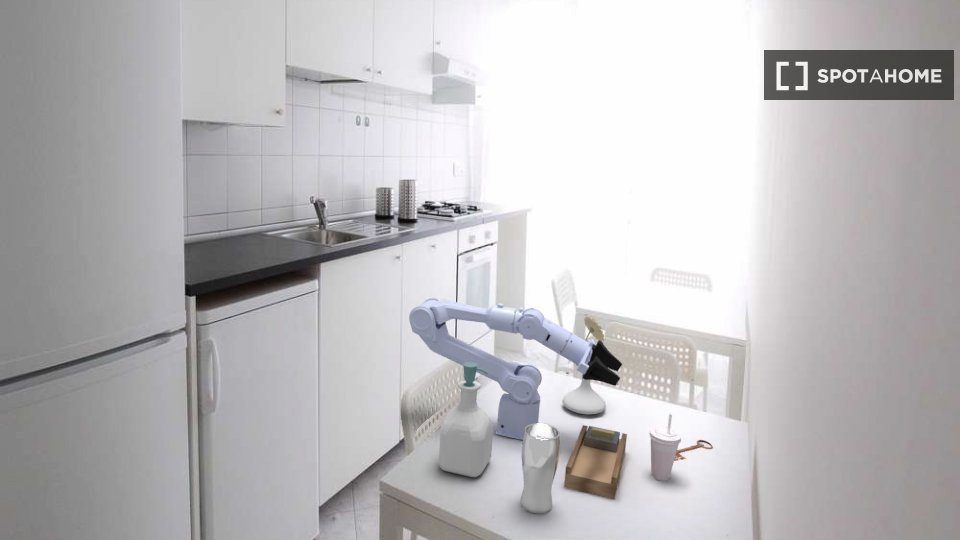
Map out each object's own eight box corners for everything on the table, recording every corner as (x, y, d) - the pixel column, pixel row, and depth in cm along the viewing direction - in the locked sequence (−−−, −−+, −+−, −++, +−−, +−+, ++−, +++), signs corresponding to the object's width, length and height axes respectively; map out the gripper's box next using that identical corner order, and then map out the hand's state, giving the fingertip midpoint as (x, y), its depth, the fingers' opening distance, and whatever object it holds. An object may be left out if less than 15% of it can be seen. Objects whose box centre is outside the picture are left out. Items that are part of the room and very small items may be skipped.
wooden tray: (564, 486, 114) (565, 466, 114) (581, 443, 133) (582, 425, 132) (614, 499, 111) (616, 478, 110) (625, 452, 130) (627, 434, 129)
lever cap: (583, 445, 125) (585, 432, 125) (588, 433, 131) (589, 421, 130) (616, 452, 123) (617, 439, 123) (619, 440, 129) (620, 428, 128)
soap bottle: (479, 482, 114) (485, 375, 110) (435, 472, 117) (439, 367, 113) (493, 460, 123) (499, 360, 119) (452, 451, 126) (456, 353, 122)
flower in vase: (609, 419, 146) (618, 326, 141) (564, 417, 146) (573, 323, 141) (599, 399, 159) (608, 312, 154) (558, 396, 159) (566, 310, 154)
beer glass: (515, 493, 111) (520, 422, 108) (550, 493, 112) (556, 422, 109) (520, 515, 104) (526, 439, 102) (558, 515, 105) (564, 440, 102)
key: (675, 467, 126) (722, 454, 133) (675, 463, 126) (722, 450, 133) (656, 452, 131) (702, 440, 138) (657, 449, 131) (703, 437, 137)
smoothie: (678, 486, 117) (686, 422, 114) (645, 481, 118) (653, 418, 116) (674, 470, 123) (681, 409, 120) (643, 465, 124) (650, 405, 122)
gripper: (569, 341, 122) (626, 374, 120) (578, 319, 135) (629, 348, 134) (554, 367, 125) (609, 399, 123) (564, 342, 138) (614, 371, 136)
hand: (618, 374), depth 128 cm, fingers open, 7 cm apart
